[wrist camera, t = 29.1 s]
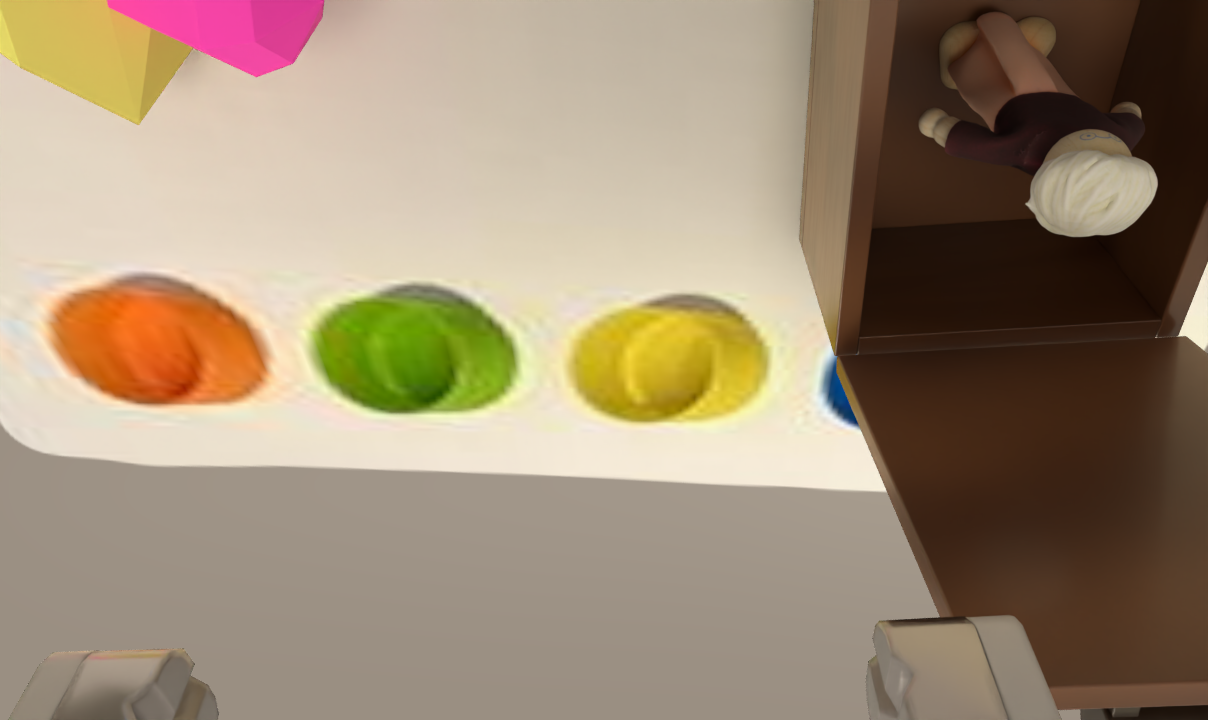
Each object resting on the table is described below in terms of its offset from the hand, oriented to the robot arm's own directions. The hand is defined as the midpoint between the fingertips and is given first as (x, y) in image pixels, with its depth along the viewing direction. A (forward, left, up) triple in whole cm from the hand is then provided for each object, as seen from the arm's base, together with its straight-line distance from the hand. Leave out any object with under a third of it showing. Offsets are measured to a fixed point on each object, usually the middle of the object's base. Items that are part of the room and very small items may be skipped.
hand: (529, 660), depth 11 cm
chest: (+6, +15, -31) cm, 35 cm away
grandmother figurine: (+5, +15, -30) cm, 34 cm away
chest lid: (+12, +15, -14) cm, 24 cm away
